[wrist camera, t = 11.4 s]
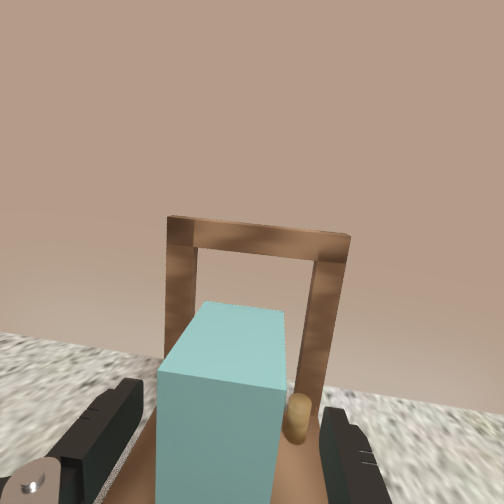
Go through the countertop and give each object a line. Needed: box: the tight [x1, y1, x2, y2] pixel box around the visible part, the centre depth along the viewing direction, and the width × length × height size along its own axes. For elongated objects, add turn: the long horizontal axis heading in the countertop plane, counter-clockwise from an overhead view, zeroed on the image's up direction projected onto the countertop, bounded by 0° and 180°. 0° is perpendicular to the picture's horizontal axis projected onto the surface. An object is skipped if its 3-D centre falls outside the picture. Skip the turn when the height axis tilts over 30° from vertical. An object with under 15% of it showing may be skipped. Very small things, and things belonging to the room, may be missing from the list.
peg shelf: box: [102, 215, 351, 504], centre depth 13 cm, size 13×16×18 cm
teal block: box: [155, 301, 287, 504], centre depth 13 cm, size 4×6×11 cm
